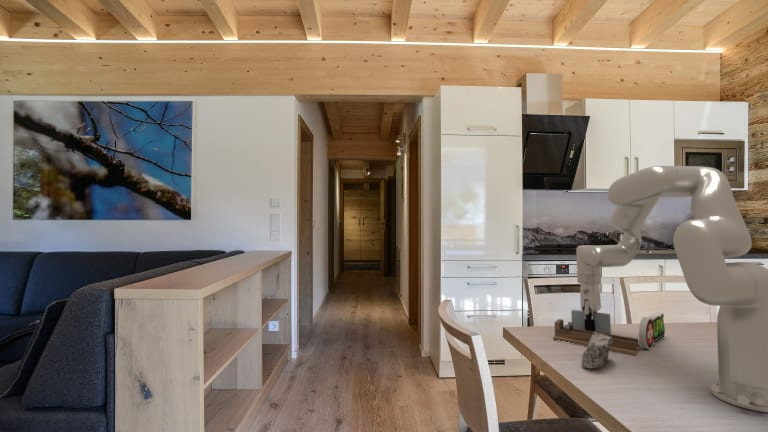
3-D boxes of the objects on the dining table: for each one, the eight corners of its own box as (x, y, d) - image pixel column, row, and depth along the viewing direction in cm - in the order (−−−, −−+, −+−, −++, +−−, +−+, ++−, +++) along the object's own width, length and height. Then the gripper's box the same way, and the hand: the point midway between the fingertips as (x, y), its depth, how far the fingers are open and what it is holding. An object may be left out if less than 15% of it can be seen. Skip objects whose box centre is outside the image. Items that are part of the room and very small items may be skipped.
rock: (598, 375, 96) (601, 337, 97) (566, 365, 102) (569, 329, 103) (620, 371, 105) (622, 336, 106) (589, 361, 112) (592, 329, 113)
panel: (609, 338, 124) (608, 315, 125) (572, 332, 132) (571, 310, 133) (611, 336, 126) (610, 313, 127) (573, 330, 134) (572, 309, 135)
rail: (635, 355, 111) (635, 336, 111) (553, 340, 126) (553, 323, 127) (639, 348, 117) (638, 330, 118) (560, 334, 133) (560, 318, 133)
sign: (658, 337, 129) (658, 309, 130) (665, 338, 128) (664, 310, 128) (639, 350, 115) (638, 319, 116) (646, 352, 114) (645, 320, 114)
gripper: (596, 282, 122) (598, 336, 121) (605, 277, 134) (607, 327, 133) (572, 280, 127) (573, 333, 126) (582, 276, 139) (584, 324, 138)
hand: (590, 329), depth 129 cm, fingers closed on panel, 2 cm apart
